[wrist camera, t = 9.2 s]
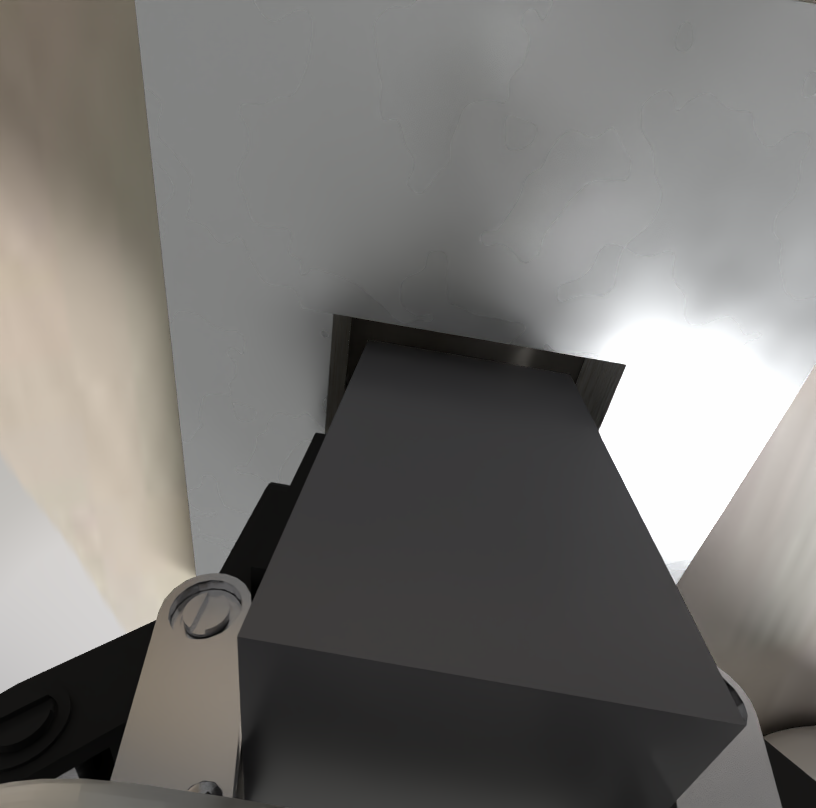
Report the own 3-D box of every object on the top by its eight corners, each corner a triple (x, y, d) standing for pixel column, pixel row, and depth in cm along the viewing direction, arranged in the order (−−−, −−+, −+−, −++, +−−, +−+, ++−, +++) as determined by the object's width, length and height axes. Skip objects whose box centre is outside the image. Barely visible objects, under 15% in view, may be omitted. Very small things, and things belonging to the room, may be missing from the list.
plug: (368, 339, 12) (236, 636, 5) (569, 374, 12) (747, 726, 5) (339, 586, 16) (250, 932, 9) (486, 612, 16) (511, 977, 9)
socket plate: (199, -54, 9) (96, -133, 7) (890, 62, 9) (1066, 29, 7) (233, 600, 19) (197, 674, 17) (572, 659, 19) (591, 744, 17)
